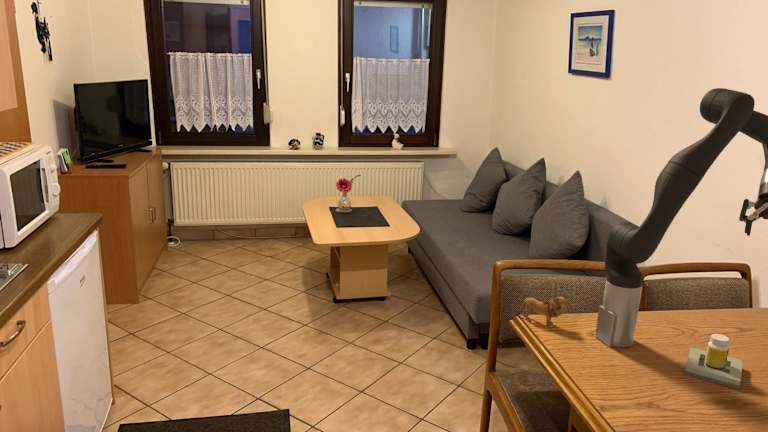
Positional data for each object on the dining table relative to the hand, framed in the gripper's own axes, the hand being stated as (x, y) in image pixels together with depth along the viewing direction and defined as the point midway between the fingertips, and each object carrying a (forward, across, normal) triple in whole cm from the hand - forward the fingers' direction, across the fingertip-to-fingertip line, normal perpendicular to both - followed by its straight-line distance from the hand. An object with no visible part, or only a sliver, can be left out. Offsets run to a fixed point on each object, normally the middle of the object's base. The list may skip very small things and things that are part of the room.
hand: (767, 237), depth 163 cm
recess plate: (+38, -6, +5) cm, 39 cm away
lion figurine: (+36, -52, +7) cm, 64 cm away
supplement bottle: (+38, -6, +5) cm, 38 cm away
